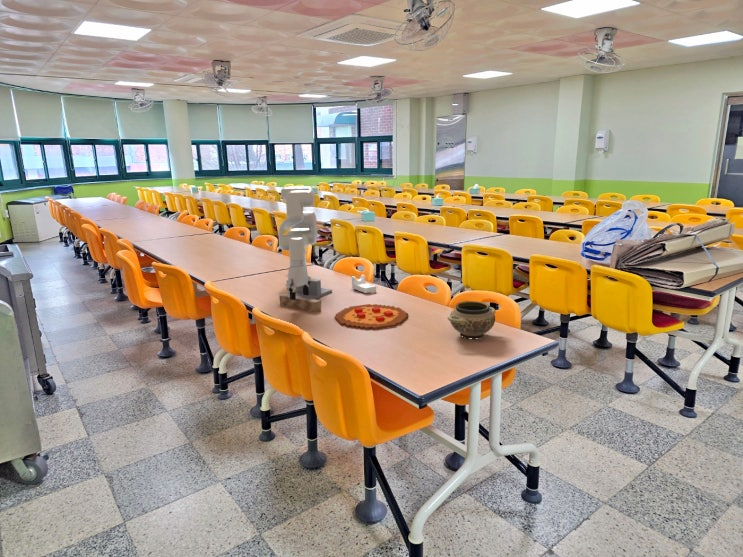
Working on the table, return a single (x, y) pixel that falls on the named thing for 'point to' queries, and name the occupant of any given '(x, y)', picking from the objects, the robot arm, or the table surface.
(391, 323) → the pizza
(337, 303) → the table surface
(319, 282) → the balance stand
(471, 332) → the ceramic bowl
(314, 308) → the brown wooden bar
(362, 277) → the bracket
